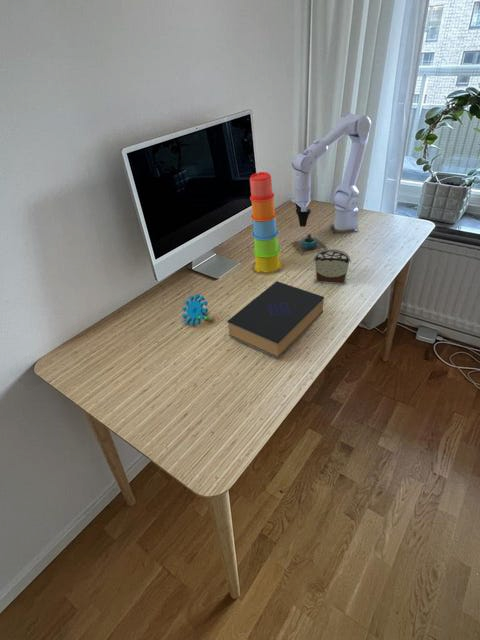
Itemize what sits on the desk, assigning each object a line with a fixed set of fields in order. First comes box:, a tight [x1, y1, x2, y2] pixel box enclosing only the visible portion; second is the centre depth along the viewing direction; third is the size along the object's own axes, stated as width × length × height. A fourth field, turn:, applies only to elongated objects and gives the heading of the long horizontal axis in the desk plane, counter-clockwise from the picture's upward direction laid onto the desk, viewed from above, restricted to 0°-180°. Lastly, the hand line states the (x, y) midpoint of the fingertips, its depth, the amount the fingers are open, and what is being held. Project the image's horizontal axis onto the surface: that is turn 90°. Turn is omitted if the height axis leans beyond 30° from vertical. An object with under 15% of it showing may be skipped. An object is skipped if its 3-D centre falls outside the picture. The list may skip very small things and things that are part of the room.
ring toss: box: [292, 233, 327, 254], centre depth 153 cm, size 10×10×5 cm
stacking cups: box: [249, 171, 282, 275], centre depth 133 cm, size 10×10×35 cm
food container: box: [312, 248, 352, 285], centre depth 131 cm, size 12×6×10 cm, turn 74°
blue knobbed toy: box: [181, 293, 213, 327], centre depth 120 cm, size 11×6×10 cm
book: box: [226, 280, 325, 360], centre depth 113 cm, size 17×25×7 cm
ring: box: [301, 236, 318, 248], centre depth 153 cm, size 6×6×2 cm
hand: (301, 222), depth 151 cm, fingers open, 7 cm apart
